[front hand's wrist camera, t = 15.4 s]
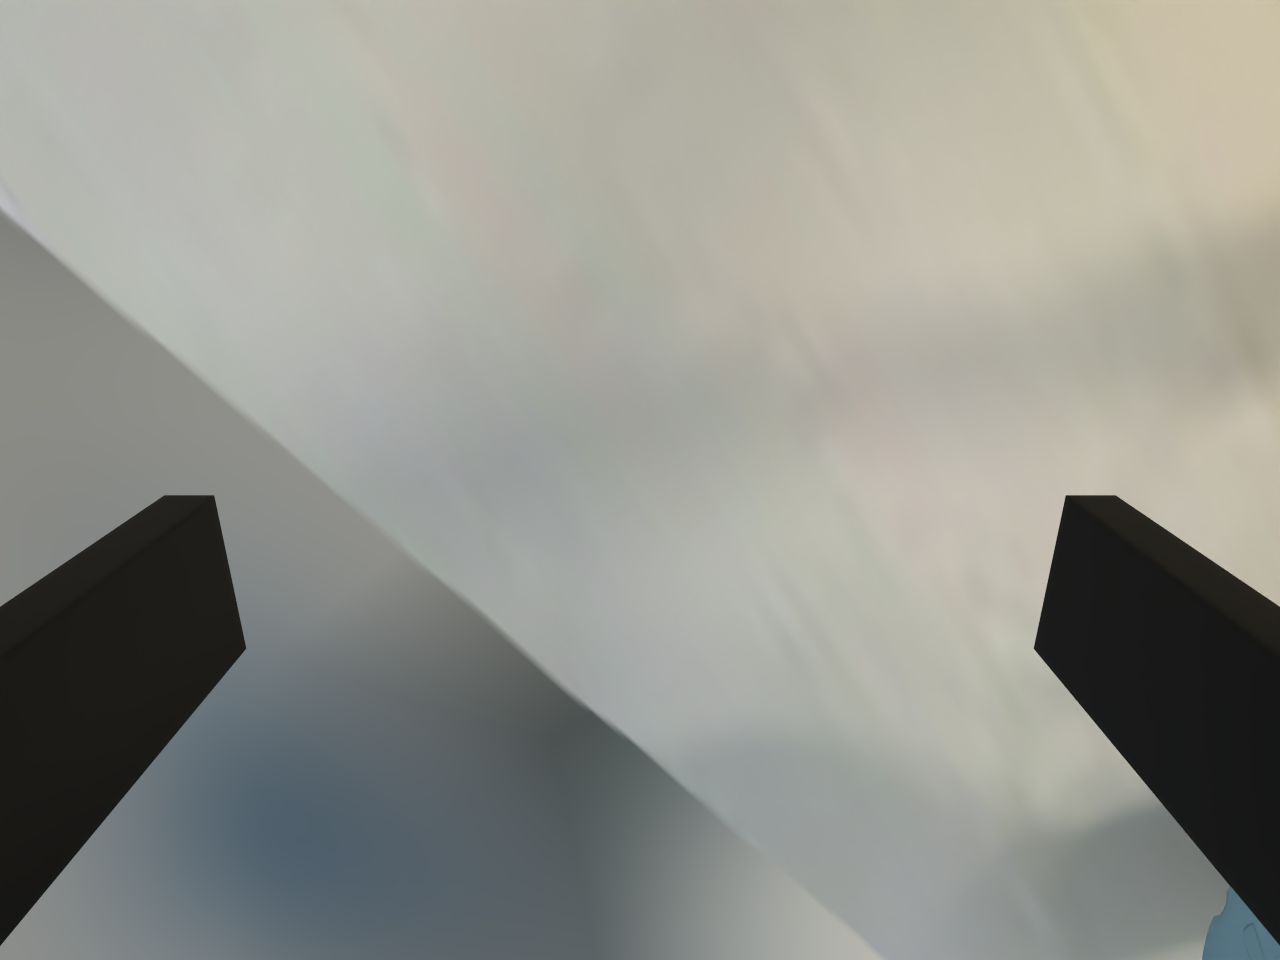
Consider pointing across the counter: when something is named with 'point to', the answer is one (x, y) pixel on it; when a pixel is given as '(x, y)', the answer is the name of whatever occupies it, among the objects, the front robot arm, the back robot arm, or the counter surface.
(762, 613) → the counter surface
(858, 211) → the counter surface
